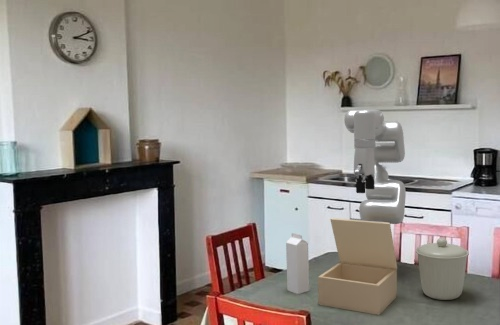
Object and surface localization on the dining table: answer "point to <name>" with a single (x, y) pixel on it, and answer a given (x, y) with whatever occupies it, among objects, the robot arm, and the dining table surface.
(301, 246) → the milk
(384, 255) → the carton lid
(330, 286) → the carton
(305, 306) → the dining table surface
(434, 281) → the canister
